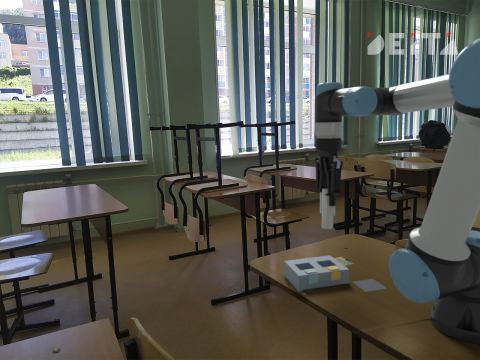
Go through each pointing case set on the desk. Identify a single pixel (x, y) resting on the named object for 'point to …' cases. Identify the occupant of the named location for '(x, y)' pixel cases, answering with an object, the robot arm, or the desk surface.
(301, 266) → the socket block
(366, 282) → the mat
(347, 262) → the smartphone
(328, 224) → the plug
